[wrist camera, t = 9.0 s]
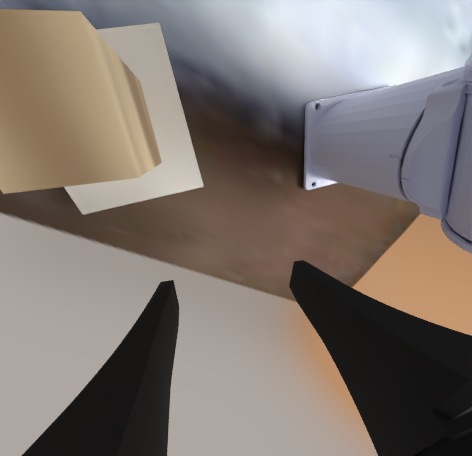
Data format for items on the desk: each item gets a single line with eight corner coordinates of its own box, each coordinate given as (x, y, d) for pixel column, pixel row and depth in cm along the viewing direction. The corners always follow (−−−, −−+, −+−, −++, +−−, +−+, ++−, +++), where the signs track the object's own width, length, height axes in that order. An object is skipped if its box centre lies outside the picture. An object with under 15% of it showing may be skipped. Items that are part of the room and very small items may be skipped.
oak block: (140, 81, 10) (80, 11, 5) (161, 162, 12) (137, 177, 7) (51, 84, 9) (-137, 4, 4) (91, 170, 11) (3, 193, 6)
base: (166, 49, 12) (159, 22, 9) (201, 179, 16) (203, 186, 13) (22, 68, 11) (-34, 44, 8) (102, 202, 15) (82, 214, 12)
